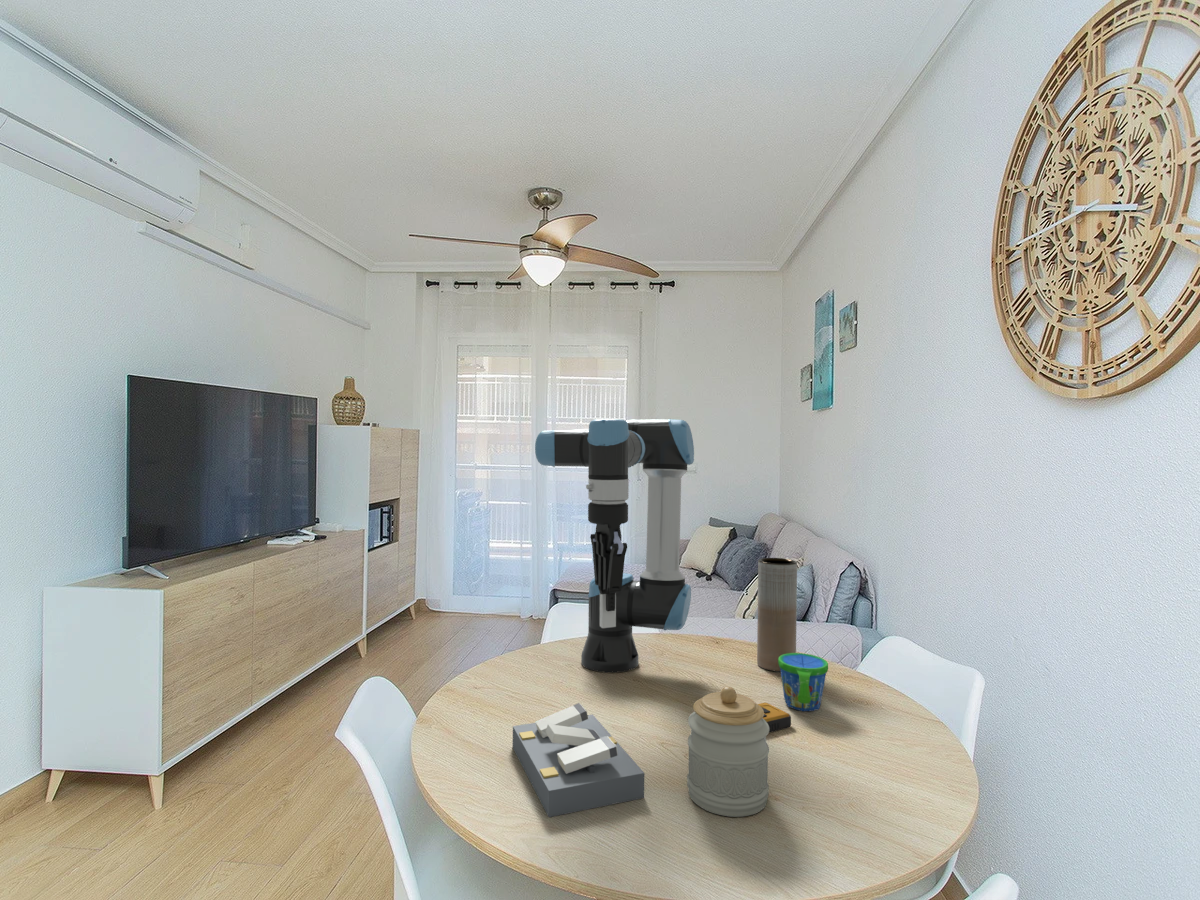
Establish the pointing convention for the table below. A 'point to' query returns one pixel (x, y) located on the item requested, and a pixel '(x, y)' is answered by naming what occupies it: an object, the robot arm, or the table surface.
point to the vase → (776, 611)
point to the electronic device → (775, 717)
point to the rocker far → (562, 718)
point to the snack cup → (802, 680)
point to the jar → (728, 754)
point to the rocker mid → (570, 735)
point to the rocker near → (587, 754)
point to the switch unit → (576, 772)
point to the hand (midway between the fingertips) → (607, 626)
